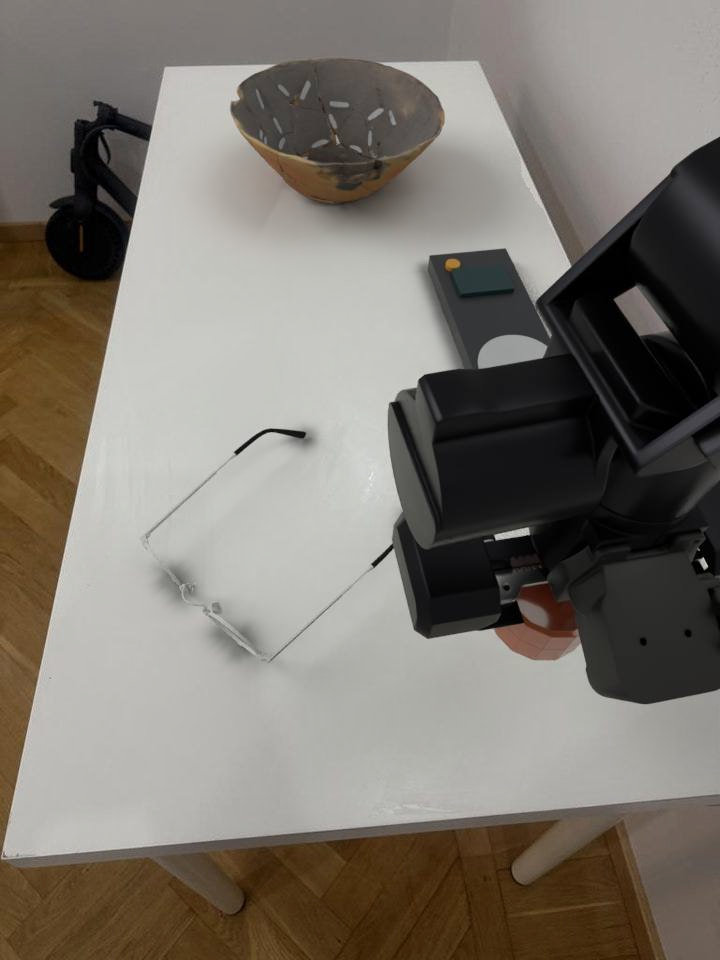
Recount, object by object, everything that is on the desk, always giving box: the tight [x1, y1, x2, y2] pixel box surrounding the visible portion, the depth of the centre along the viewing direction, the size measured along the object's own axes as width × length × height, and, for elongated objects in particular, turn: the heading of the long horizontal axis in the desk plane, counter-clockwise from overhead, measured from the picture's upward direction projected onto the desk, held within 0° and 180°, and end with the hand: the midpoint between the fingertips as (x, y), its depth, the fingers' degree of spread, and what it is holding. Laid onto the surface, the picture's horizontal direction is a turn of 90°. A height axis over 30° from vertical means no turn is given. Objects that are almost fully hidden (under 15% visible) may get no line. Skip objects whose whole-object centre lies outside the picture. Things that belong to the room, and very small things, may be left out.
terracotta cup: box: [493, 565, 581, 661], centre depth 39 cm, size 6×6×4 cm
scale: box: [427, 247, 551, 369], centre depth 67 cm, size 22×9×3 cm, turn 10°
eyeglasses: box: [139, 427, 394, 664], centre depth 51 cm, size 16×19×5 cm
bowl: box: [229, 57, 446, 205], centre depth 78 cm, size 25×25×10 cm
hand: (538, 608), depth 40 cm, fingers closed on terracotta cup, 6 cm apart
